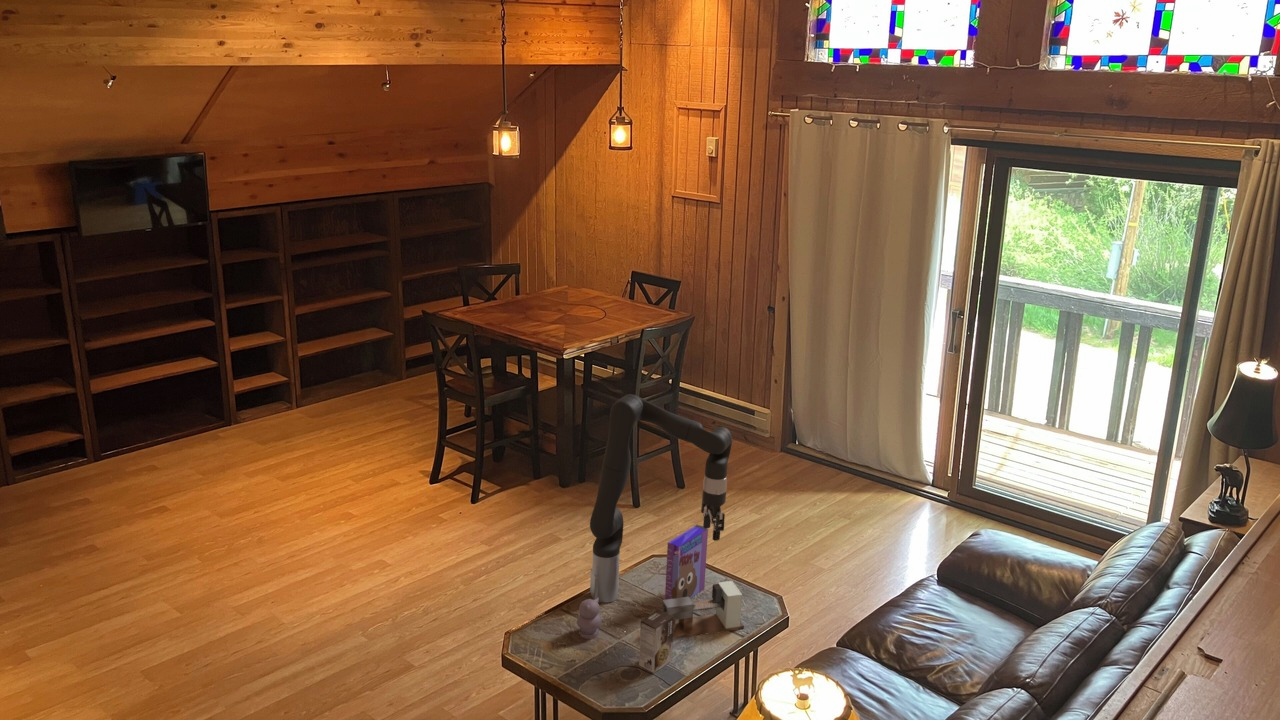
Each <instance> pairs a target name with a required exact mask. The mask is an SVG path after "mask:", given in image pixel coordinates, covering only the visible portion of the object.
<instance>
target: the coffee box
mask: <svg viewBox="0 0 1280 720" xmlns="http://www.w3.org/2000/svg"><path fill="white" fill-rule="evenodd" d="M673 621H674V616H672V615H669V614H668V613H666V612H664V611H662V610H661V609H659V608H657V609H656V610H654V612H652V613H650V614H648V615H647V616H646V617H644V618H643V619H641V620H640V632H639V633H640V635H639V659H638V660H639V663H638V664H639V667H642V668H643V669H645V670H647V671H649V672H651V673H653V674H655V673H657V672H659V670H660V669H662V668H663V667H665V666H667V665H668V664H669V663H671V662H672V661H673V643H674V642H673V641H674V639H673Z"/></svg>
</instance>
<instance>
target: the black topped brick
mask: <svg viewBox="0 0 1280 720" xmlns="http://www.w3.org/2000/svg"><path fill="white" fill-rule="evenodd" d="M711 591H712V592H711V599H704V600H695V601H692V602H693V604H694V607H693V612H696V611H697V612H700V611H705V610H712V609H713V610H715V609H716V608H721V607H724V606H725V600H724V598H721V596H722V588H721V587H720V585H719V584H718V583H715V584H712V590H711Z"/></svg>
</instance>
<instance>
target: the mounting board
mask: <svg viewBox="0 0 1280 720" xmlns="http://www.w3.org/2000/svg"><path fill="white" fill-rule="evenodd" d="M693 602H694V601H692V599H690V598H689V597H683V598H675V599H667V600H665V599H662V608H661V609H662V611H664V612H666V613H668V614H669V615H672V616H674V621H673V638H674V639H680V637H681V638H687V637H694V635H695V636H701V635H700V634H702V635H706V633H709V634H715V632H716V633H722V632H723V633H724V632H730V631H737V630H743V629H745V625H744V624H743V622H742V621H741V620H740V627H733V628H725V627H724V625H723V624H722V622H721V621H720V619H719V618H718V616H717V615H716V613H715V614H713V613H712V614H706V615H699V616H694V611H693V607H694V604H693ZM686 636H687V637H686ZM678 637H679V638H678Z"/></svg>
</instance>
